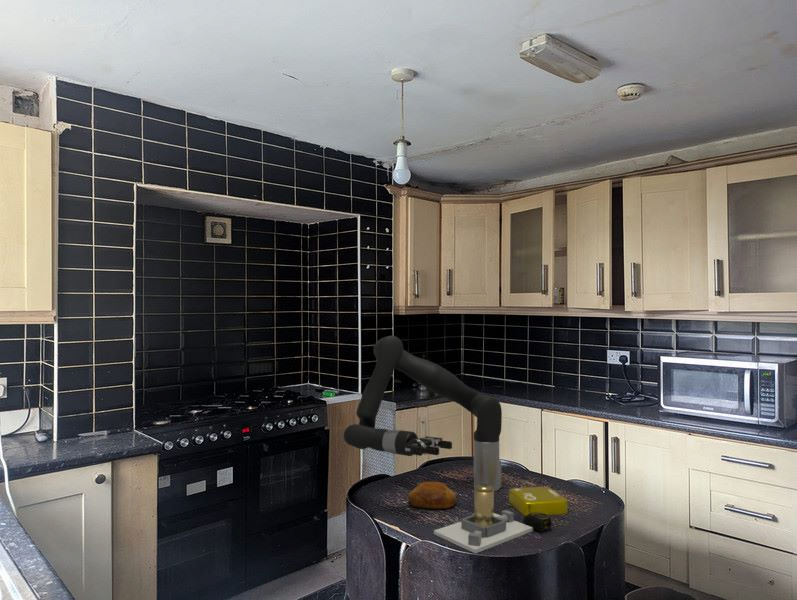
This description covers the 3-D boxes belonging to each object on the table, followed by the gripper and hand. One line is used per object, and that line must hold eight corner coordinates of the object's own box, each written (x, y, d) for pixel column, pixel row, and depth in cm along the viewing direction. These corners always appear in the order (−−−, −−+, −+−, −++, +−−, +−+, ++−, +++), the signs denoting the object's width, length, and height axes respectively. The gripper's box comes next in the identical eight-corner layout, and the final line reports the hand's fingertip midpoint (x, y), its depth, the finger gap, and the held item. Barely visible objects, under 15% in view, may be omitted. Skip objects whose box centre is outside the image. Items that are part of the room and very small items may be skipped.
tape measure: (522, 527, 157) (522, 514, 158) (537, 522, 161) (537, 509, 161) (540, 535, 152) (540, 521, 152) (556, 529, 156) (556, 516, 156)
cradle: (490, 515, 167) (490, 503, 167) (532, 530, 154) (532, 518, 154) (433, 534, 152) (433, 521, 152) (475, 553, 139) (475, 539, 139)
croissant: (452, 519, 169) (455, 494, 169) (404, 508, 172) (407, 484, 172) (457, 503, 183) (460, 479, 183) (413, 493, 187) (416, 470, 186)
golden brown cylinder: (482, 523, 157) (483, 482, 157) (497, 529, 153) (497, 487, 153) (469, 527, 153) (470, 485, 154) (484, 534, 149) (485, 490, 150)
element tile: (570, 514, 168) (569, 499, 168) (525, 517, 166) (525, 501, 166) (548, 498, 183) (548, 484, 183) (507, 501, 180) (506, 486, 181)
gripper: (387, 434, 165) (434, 440, 156) (411, 426, 177) (455, 431, 168) (387, 459, 164) (434, 466, 156) (411, 449, 177) (455, 455, 168)
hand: (445, 448), depth 162 cm, fingers open, 8 cm apart
